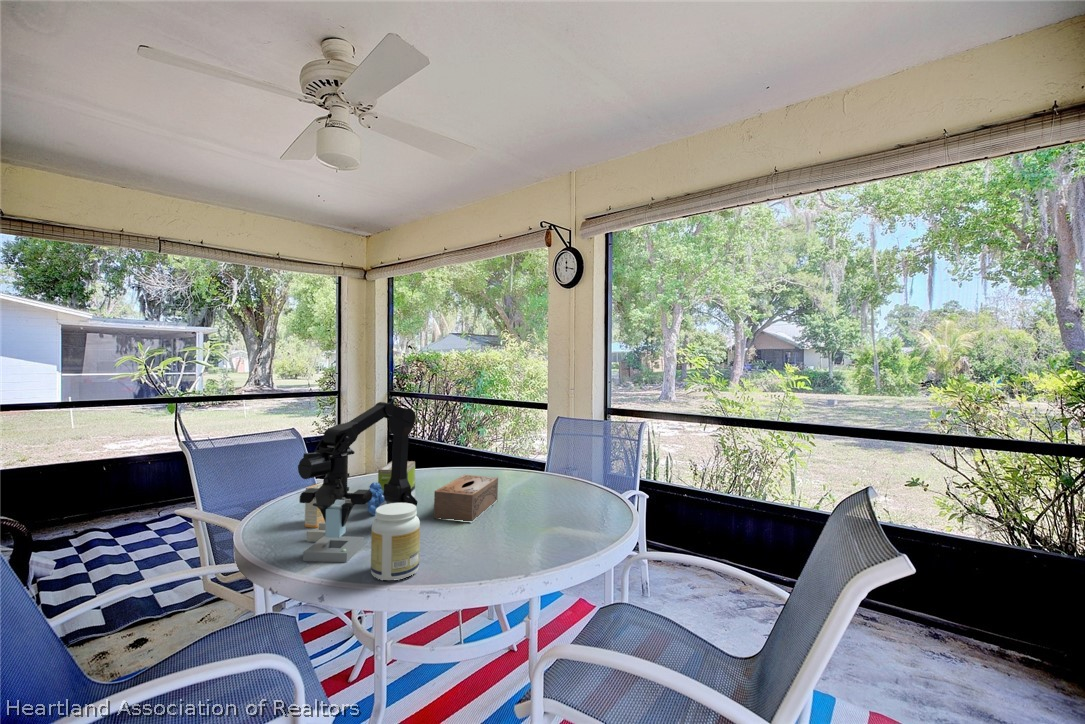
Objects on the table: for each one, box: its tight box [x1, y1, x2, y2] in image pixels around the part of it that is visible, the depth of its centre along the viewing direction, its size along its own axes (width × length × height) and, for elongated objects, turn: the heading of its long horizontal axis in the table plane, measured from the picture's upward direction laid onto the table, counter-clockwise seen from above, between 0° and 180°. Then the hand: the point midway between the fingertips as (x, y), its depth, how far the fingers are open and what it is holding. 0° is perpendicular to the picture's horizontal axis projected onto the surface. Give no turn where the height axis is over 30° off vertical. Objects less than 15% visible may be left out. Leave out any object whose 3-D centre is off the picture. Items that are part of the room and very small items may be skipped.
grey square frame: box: [306, 522, 347, 543], centre depth 147 cm, size 8×9×3 cm
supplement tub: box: [370, 503, 421, 581], centre depth 124 cm, size 12×12×17 cm
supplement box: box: [304, 481, 325, 529], centre depth 159 cm, size 8×5×13 cm, turn 168°
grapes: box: [366, 482, 385, 516], centre depth 168 cm, size 12×7×12 cm, turn 178°
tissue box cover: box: [433, 474, 499, 521], centre depth 177 cm, size 26×14×10 cm, turn 166°
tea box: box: [377, 460, 416, 506], centre depth 184 cm, size 15×10×15 cm
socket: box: [302, 535, 365, 563], centre depth 135 cm, size 12×12×3 cm
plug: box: [325, 504, 347, 538], centre depth 135 cm, size 4×4×8 cm
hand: (335, 526), depth 135 cm, fingers closed on plug, 4 cm apart
